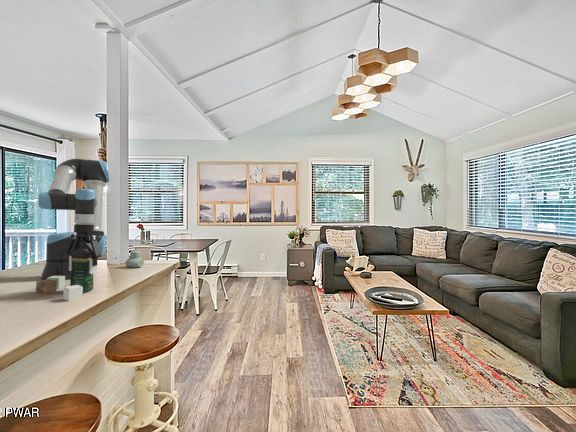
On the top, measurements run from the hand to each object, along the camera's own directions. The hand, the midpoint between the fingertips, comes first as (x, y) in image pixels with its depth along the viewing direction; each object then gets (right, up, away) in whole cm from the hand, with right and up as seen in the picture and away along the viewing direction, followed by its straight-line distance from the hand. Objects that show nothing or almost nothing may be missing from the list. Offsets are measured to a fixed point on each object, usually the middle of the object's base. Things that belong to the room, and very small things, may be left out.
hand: (82, 271), depth 147 cm
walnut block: (-13, -8, -4) cm, 16 cm away
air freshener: (-6, -8, +63) cm, 64 cm away
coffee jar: (0, -9, 0) cm, 9 cm away
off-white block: (+4, -9, -12) cm, 16 cm away
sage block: (-15, -8, +5) cm, 18 cm away
